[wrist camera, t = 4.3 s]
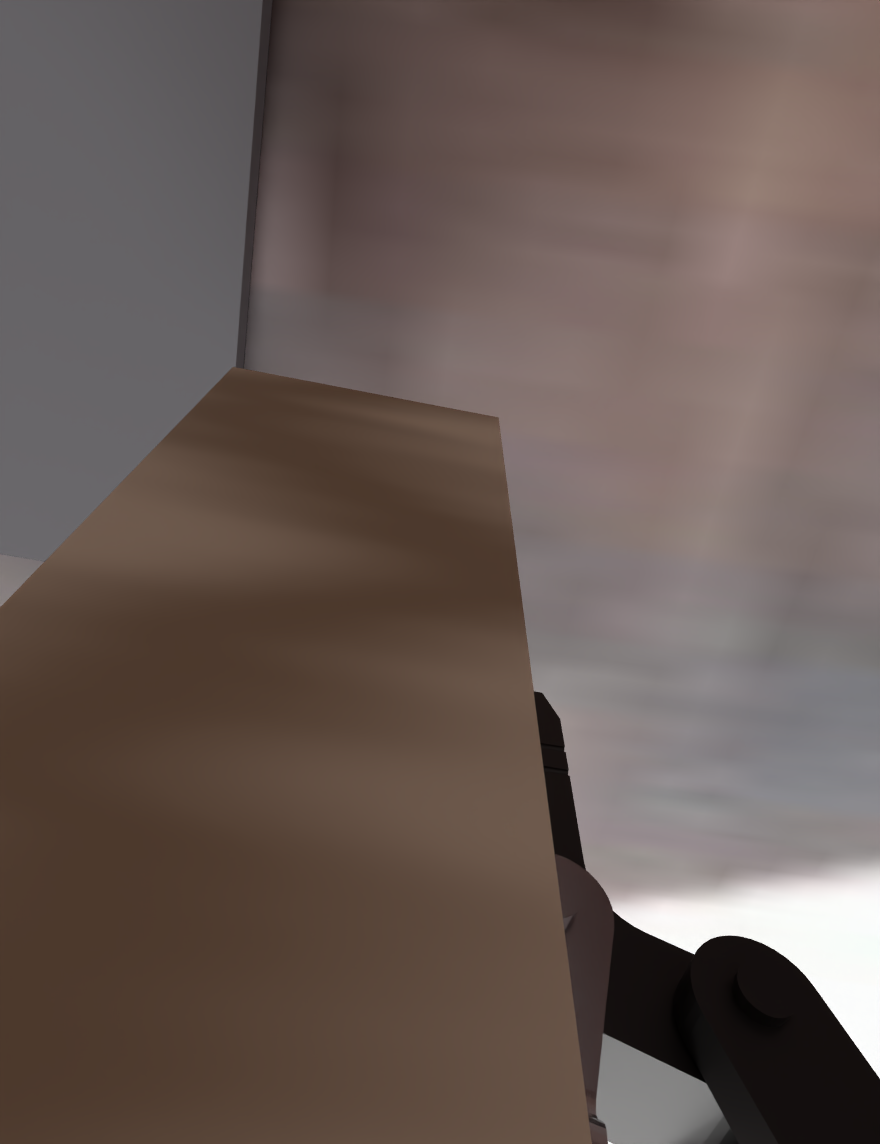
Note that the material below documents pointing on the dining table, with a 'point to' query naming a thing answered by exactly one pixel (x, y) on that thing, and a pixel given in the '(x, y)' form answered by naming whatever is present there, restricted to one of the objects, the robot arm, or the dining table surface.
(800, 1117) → the robot arm
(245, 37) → the mat
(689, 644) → the dining table surface
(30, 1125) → the block
